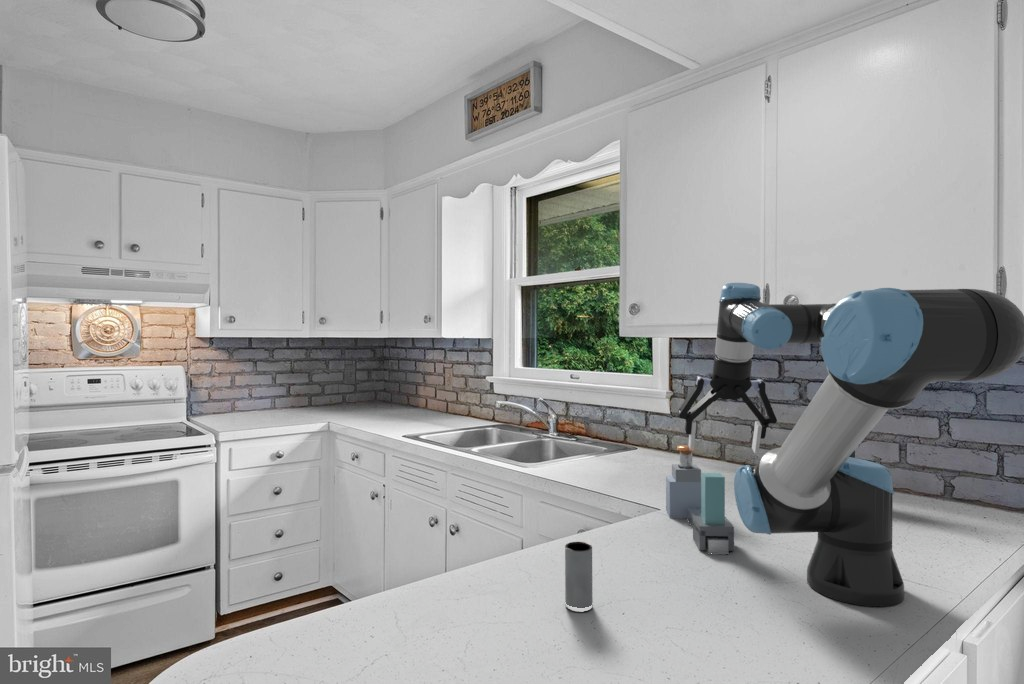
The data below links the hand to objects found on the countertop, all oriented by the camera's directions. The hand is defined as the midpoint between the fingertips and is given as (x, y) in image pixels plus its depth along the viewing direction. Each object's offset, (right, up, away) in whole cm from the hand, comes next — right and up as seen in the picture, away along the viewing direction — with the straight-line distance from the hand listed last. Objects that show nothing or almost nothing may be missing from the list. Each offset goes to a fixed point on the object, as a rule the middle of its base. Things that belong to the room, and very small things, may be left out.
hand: (722, 449), depth 134 cm
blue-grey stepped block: (-3, -20, +19) cm, 28 cm away
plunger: (-3, -10, +19) cm, 22 cm away
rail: (-3, -20, +3) cm, 20 cm away
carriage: (-3, -20, -3) cm, 21 cm away
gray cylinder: (-35, -21, -31) cm, 51 cm away
